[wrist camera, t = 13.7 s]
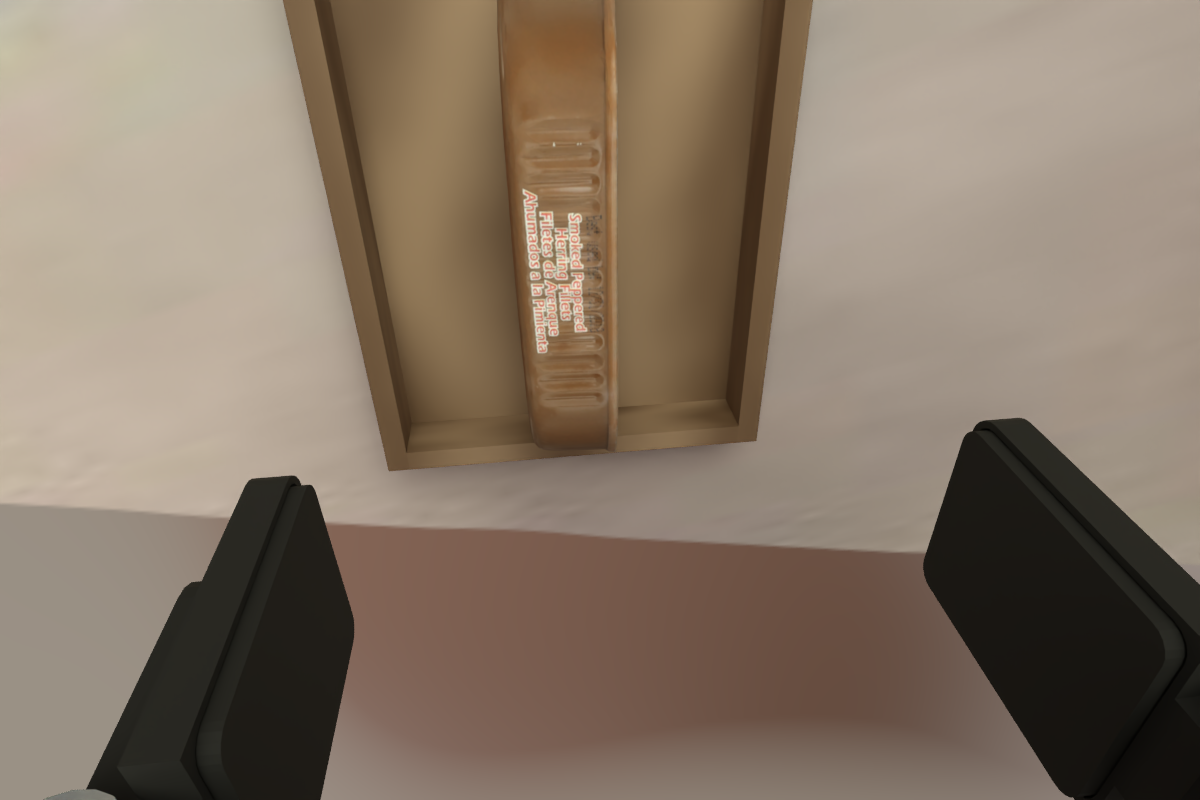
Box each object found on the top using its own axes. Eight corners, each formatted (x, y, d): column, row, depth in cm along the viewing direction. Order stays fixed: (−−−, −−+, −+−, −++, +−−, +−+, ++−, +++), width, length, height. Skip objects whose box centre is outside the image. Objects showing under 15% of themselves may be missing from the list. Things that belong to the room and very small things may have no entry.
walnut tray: (800, -207, 21) (841, -225, 18) (736, 400, 32) (756, 440, 29) (267, -206, 19) (232, -224, 17) (397, 426, 31) (388, 471, 28)
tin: (605, 366, 29) (638, 507, 22) (526, 371, 29) (534, 517, 22) (600, -87, 21) (650, -91, 14) (488, -85, 20) (482, -88, 14)
